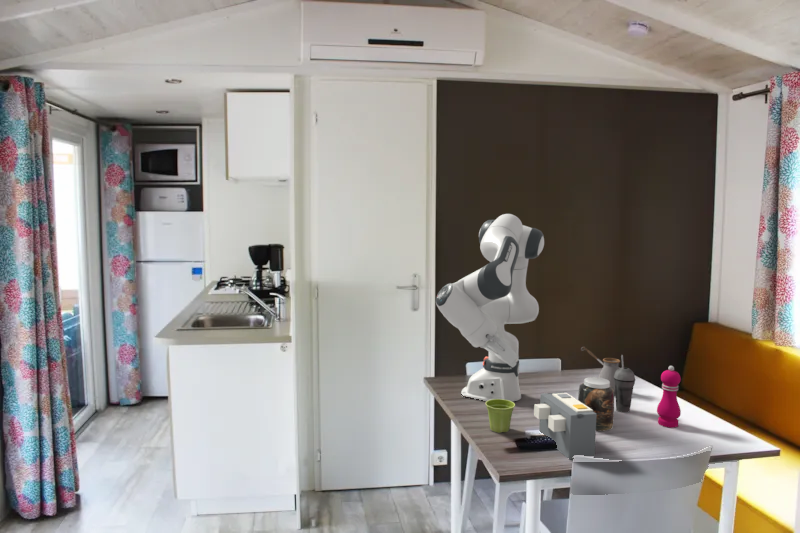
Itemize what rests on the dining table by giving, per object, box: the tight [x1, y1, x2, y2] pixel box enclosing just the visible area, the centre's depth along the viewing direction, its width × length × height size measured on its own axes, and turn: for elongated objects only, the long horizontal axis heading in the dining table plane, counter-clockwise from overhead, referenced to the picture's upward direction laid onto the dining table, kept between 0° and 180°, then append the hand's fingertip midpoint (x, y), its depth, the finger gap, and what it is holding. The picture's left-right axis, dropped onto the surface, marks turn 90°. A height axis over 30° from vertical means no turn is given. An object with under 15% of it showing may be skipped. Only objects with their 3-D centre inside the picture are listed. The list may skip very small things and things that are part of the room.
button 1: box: [533, 403, 551, 421], centre depth 185 cm, size 5×4×4 cm
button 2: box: [548, 415, 566, 432], centre depth 176 cm, size 5×4×4 cm
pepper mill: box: [656, 365, 682, 429], centre depth 199 cm, size 7×7×20 cm
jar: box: [577, 376, 615, 432], centre depth 199 cm, size 12×12×15 cm
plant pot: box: [485, 399, 516, 434], centre depth 194 cm, size 9×9×9 cm
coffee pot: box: [580, 346, 621, 392], centre depth 238 cm, size 21×12×15 cm, turn 28°
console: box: [538, 391, 597, 460], centre depth 182 cm, size 8×20×14 cm, turn 12°
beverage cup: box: [614, 354, 636, 414], centre depth 212 cm, size 7×7×20 cm
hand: (513, 364), depth 171 cm, fingers closed
